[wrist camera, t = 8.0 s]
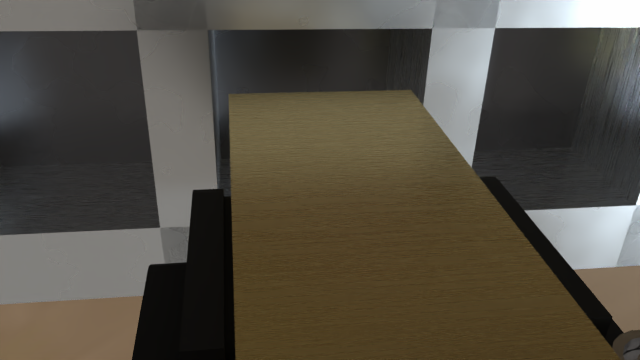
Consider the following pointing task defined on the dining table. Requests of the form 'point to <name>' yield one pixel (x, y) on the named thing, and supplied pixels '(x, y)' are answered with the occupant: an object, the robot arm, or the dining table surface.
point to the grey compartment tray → (288, 77)
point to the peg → (381, 241)
